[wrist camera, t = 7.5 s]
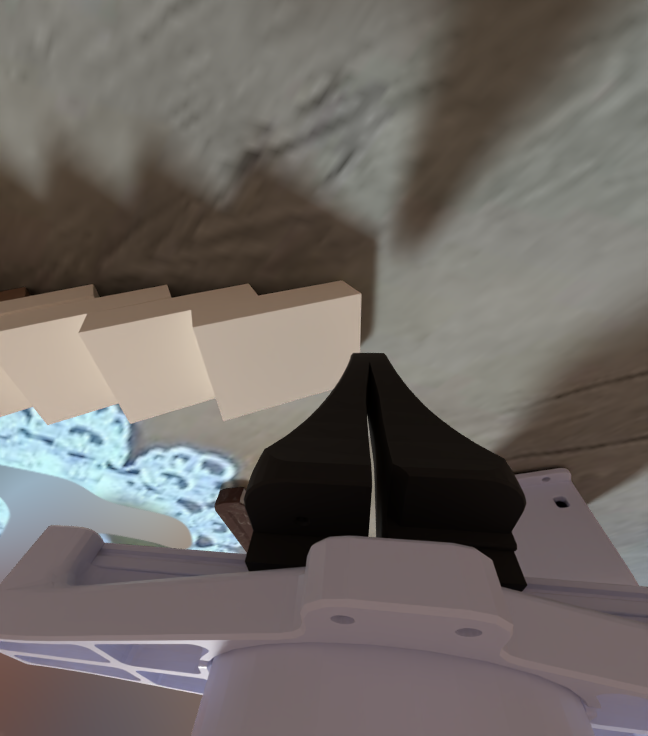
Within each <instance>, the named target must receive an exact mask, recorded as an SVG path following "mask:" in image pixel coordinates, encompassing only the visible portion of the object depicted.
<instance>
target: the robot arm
mask: <svg viewBox="0 0 648 736" xmlns="http://www.w3.org/2000/svg"><path fill="white" fill-rule="evenodd" d="M367 415H368V423H369V430H370V438H371V445H372V453H373V461H374V477H375V509H376V537H368V534H369V520H370V507H371V493H372V471H371V459H370V449H369V439H368V426H367ZM244 506H245V509H246V512H247V515H248V518H249V521H250V523H251V526H252V529H253V533H252V537H251V541H250V544H249V548H248V551H247V554H238V553H225V552H213V551H201V550H188V549H176V548H164V547H151V546H139V545H127V544H114V543H104V542H103V539H102V538H101V536H100V535H99V534H98V533H96V532H95V531H93V530H91V529H88V528H84V527H74V526H61V525H51V526H48V528H47V529H46V530H45V531H44V532H43V534H42V535H41V536H40V537H39V538H38V540H37V541H36V542H35V543H34V544H33V545H32V547H31V548H30V549H29V550H28V552H27V553H26V554H25V555H24V556H23V557H22V559H21V560H20V561H19V562H18V564H17V565H16V566H15V567H14V568H13V569H12V571H11V572H10V573H9V574H8V575H7V576H6V578H5V579H4V580H3V581H2V582H1V584H0V652H1V653H3V654H5V655H8V656H10V657H12V658H14V659H17V660H19V661H21V662H24V663H26V664H31V665H38V666H46V667H53V668H60V669H66V670H72V671H78V672H85V673H90V674H96V675H101V676H107V677H112V678H118V679H123V680H128V681H133V682H138V683H144V684H149V685H154V686H160V687H165V688H170V689H175V690H181V691H185V692H191V693H196V694H201V695H203V696H202V700H201V703H200V707H199V710H198V714H197V717H196V720H195V724H194V727H193V731H192V734H191V736H648V587H644V586H639V585H638V583H637V581H636V580H635V578H634V576H633V575H632V573H631V572H630V570H629V568H628V567H627V565H626V564H625V562H624V561H623V559H622V558H621V556H620V555H619V553H618V552H617V550H616V548H615V547H614V545H613V544H612V542H611V541H610V539H609V538H608V536H607V535H606V533H605V532H604V530H603V529H602V527H601V526H600V524H599V523H598V521H597V520H596V518H595V516H594V515H593V513H592V512H591V510H590V509H589V507H588V506H587V504H586V503H585V501H584V500H583V498H582V497H581V495H580V494H579V492H578V491H577V489H576V487H575V486H574V484H573V483H572V481H571V473H570V472H569V470H568V469H566V468H557V469H550V470H543V471H536V472H530V473H523V474H516V475H514V473H513V472H512V470H511V469H510V467H509V466H508V464H507V463H506V461H505V459H504V458H502V457H500V456H498V455H496V454H494V453H492V452H491V451H489V450H487V449H485V448H483V447H481V446H480V445H478V444H476V443H474V442H473V441H471V440H470V439H468V438H466V437H465V436H463V435H462V434H460V433H459V432H457V431H456V430H454V429H453V428H451V427H450V426H449V425H447V424H446V423H445V422H443V421H442V420H441V419H440V418H438V417H437V416H436V415H435V414H433V413H432V412H431V411H430V410H429V409H428V408H427V407H426V406H425V405H424V404H423V403H422V402H421V401H420V400H419V399H418V398H417V397H416V396H415V395H414V394H413V393H412V392H411V390H410V389H409V388H408V387H407V386H406V384H405V383H404V382H403V380H402V379H401V378H400V376H399V375H398V374H397V372H396V371H395V369H394V368H393V366H392V365H391V363H390V361H389V360H388V358H387V356H386V355H385V354H384V353H353V354H352V355H351V357H350V360H349V363H348V365H347V367H346V369H345V371H344V373H343V375H342V377H341V378H340V380H339V382H338V383H337V385H336V386H335V388H334V389H333V390H332V392H331V393H330V395H329V396H328V397H327V398H326V400H325V401H324V402H323V403H322V404H321V405H320V407H319V408H318V409H317V410H316V411H315V412H314V413H313V414H312V415H311V416H310V417H309V418H308V419H307V420H305V421H304V422H303V423H302V424H301V425H299V426H298V427H297V428H296V429H294V430H293V431H292V432H291V433H289V434H288V435H287V436H285V437H284V438H282V439H281V440H279V441H277V442H276V443H274V444H273V445H271V446H269V447H268V448H266V449H265V450H264V451H263V453H262V455H261V456H260V458H259V460H258V462H257V464H256V466H255V468H254V470H253V472H252V475H251V477H250V480H249V484H248V487H247V490H246V493H245V496H244Z"/></svg>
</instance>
